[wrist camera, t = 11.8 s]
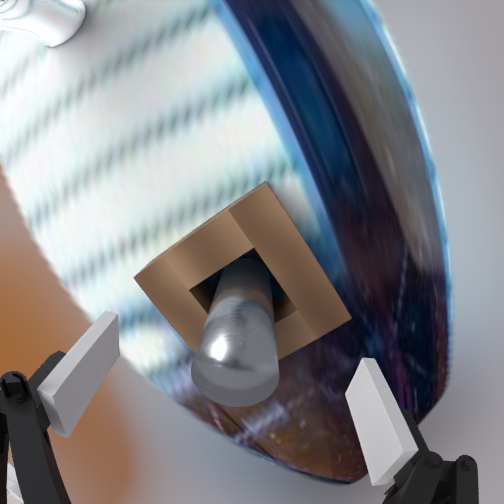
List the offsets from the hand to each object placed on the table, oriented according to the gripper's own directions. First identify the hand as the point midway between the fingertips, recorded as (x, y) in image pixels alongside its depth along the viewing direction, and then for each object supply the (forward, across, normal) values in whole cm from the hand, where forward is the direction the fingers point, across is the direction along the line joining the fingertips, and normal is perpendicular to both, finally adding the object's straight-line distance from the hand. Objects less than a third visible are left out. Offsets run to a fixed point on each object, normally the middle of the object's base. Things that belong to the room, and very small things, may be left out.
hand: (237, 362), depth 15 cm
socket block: (+12, 0, 0) cm, 12 cm away
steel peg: (+12, 0, -1) cm, 12 cm away
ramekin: (+11, -63, -98) cm, 117 cm away
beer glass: (+13, -24, +23) cm, 36 cm away
